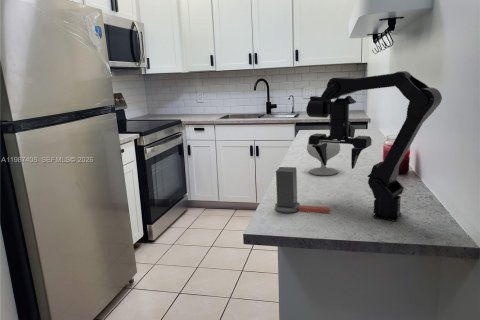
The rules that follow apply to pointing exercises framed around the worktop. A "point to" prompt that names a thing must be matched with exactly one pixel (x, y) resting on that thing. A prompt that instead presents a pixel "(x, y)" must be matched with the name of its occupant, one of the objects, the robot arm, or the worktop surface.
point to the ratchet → (302, 209)
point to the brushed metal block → (286, 187)
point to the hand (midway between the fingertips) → (338, 166)
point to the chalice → (331, 152)
